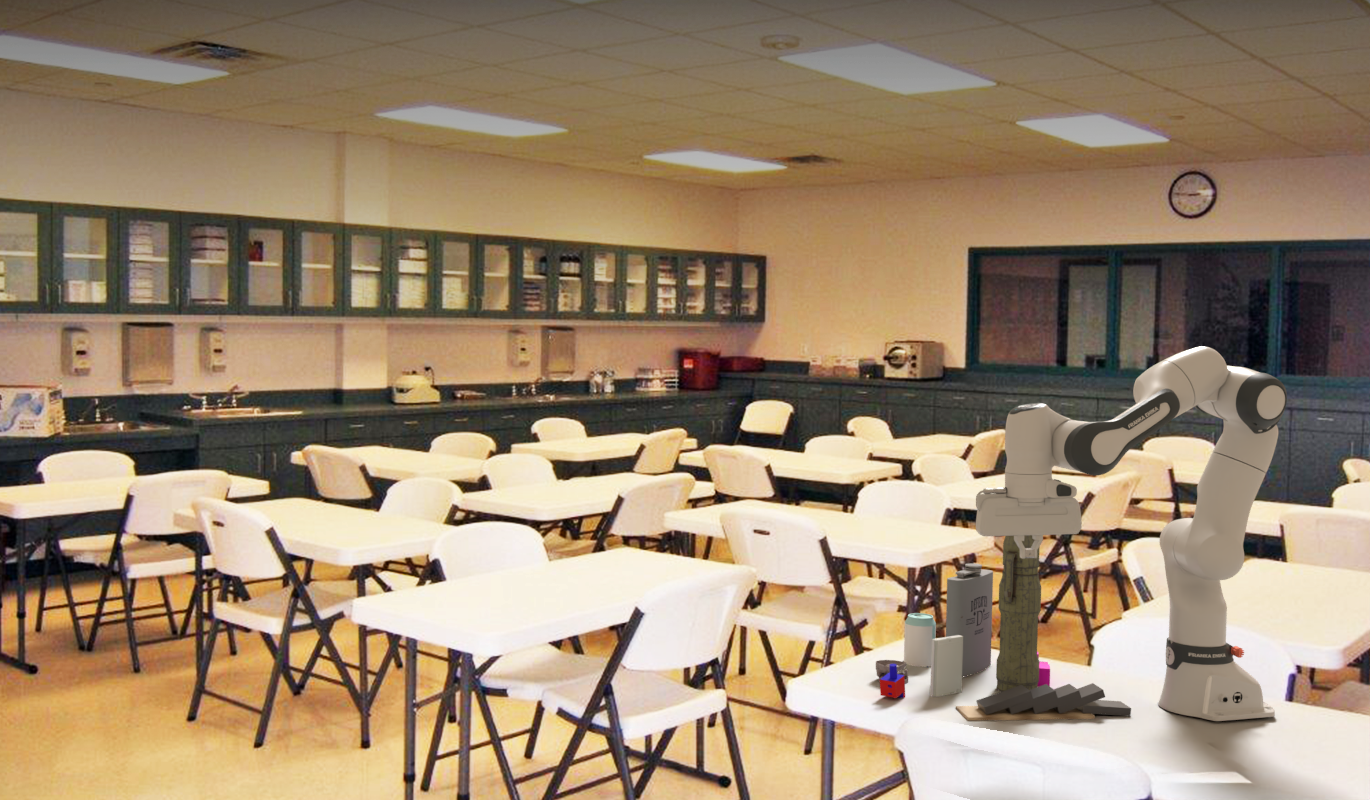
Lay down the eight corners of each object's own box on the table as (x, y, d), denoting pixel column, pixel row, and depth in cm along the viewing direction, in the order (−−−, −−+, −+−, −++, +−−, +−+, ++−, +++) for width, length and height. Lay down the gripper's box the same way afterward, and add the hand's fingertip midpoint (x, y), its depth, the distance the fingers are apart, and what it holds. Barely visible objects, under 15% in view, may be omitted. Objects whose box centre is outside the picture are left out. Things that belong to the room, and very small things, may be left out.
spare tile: (1026, 707, 265) (1071, 691, 266) (1035, 714, 260) (1081, 697, 261) (1024, 700, 265) (1069, 683, 266) (1033, 707, 260) (1079, 690, 261)
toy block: (1049, 689, 282) (1050, 655, 282) (1019, 687, 284) (1020, 653, 283) (1046, 672, 297) (1047, 639, 296) (1018, 670, 298) (1019, 638, 298)
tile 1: (978, 708, 264) (1024, 691, 265) (986, 715, 259) (1033, 698, 260) (976, 700, 264) (1021, 684, 265) (984, 707, 259) (1030, 691, 260)
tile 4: (1050, 706, 265) (1095, 690, 266) (1059, 714, 260) (1105, 697, 261) (1047, 699, 265) (1092, 683, 266) (1057, 706, 260) (1103, 689, 261)
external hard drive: (962, 693, 277) (964, 636, 276) (934, 699, 272) (936, 640, 271) (957, 692, 278) (958, 634, 277) (929, 697, 273) (930, 639, 273)
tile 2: (1003, 707, 264) (1048, 691, 265) (1011, 714, 259) (1057, 698, 260) (1000, 700, 264) (1046, 684, 265) (1009, 707, 259) (1055, 690, 260)
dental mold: (888, 679, 288) (889, 657, 288) (915, 685, 283) (915, 662, 283) (867, 686, 282) (868, 663, 282) (894, 692, 277) (894, 669, 277)
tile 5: (1072, 706, 266) (1119, 709, 267) (1082, 713, 261) (1130, 716, 262) (1073, 698, 266) (1120, 701, 267) (1083, 705, 261) (1131, 708, 262)
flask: (961, 682, 286) (964, 569, 285) (942, 678, 289) (945, 567, 288) (996, 667, 299) (999, 560, 298) (977, 664, 302) (980, 557, 301)
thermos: (1046, 688, 282) (1051, 528, 280) (1027, 700, 272) (1032, 534, 271) (1007, 681, 287) (1011, 524, 285) (987, 693, 277) (991, 530, 276)
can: (898, 667, 299) (899, 615, 298) (913, 661, 304) (914, 610, 303) (925, 672, 294) (926, 620, 293) (940, 666, 299) (941, 615, 299)
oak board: (1078, 707, 268) (1078, 704, 267) (1094, 718, 260) (1094, 715, 260) (955, 709, 265) (955, 706, 265) (968, 720, 257) (968, 717, 257)
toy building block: (880, 703, 270) (879, 666, 269) (889, 696, 274) (888, 659, 272) (896, 706, 268) (894, 669, 267) (905, 698, 271) (903, 662, 270)
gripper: (980, 490, 248) (981, 562, 249) (1084, 487, 250) (1084, 559, 250) (971, 486, 254) (971, 556, 255) (1072, 484, 256) (1072, 553, 257)
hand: (1028, 557), depth 253 cm, fingers closed
